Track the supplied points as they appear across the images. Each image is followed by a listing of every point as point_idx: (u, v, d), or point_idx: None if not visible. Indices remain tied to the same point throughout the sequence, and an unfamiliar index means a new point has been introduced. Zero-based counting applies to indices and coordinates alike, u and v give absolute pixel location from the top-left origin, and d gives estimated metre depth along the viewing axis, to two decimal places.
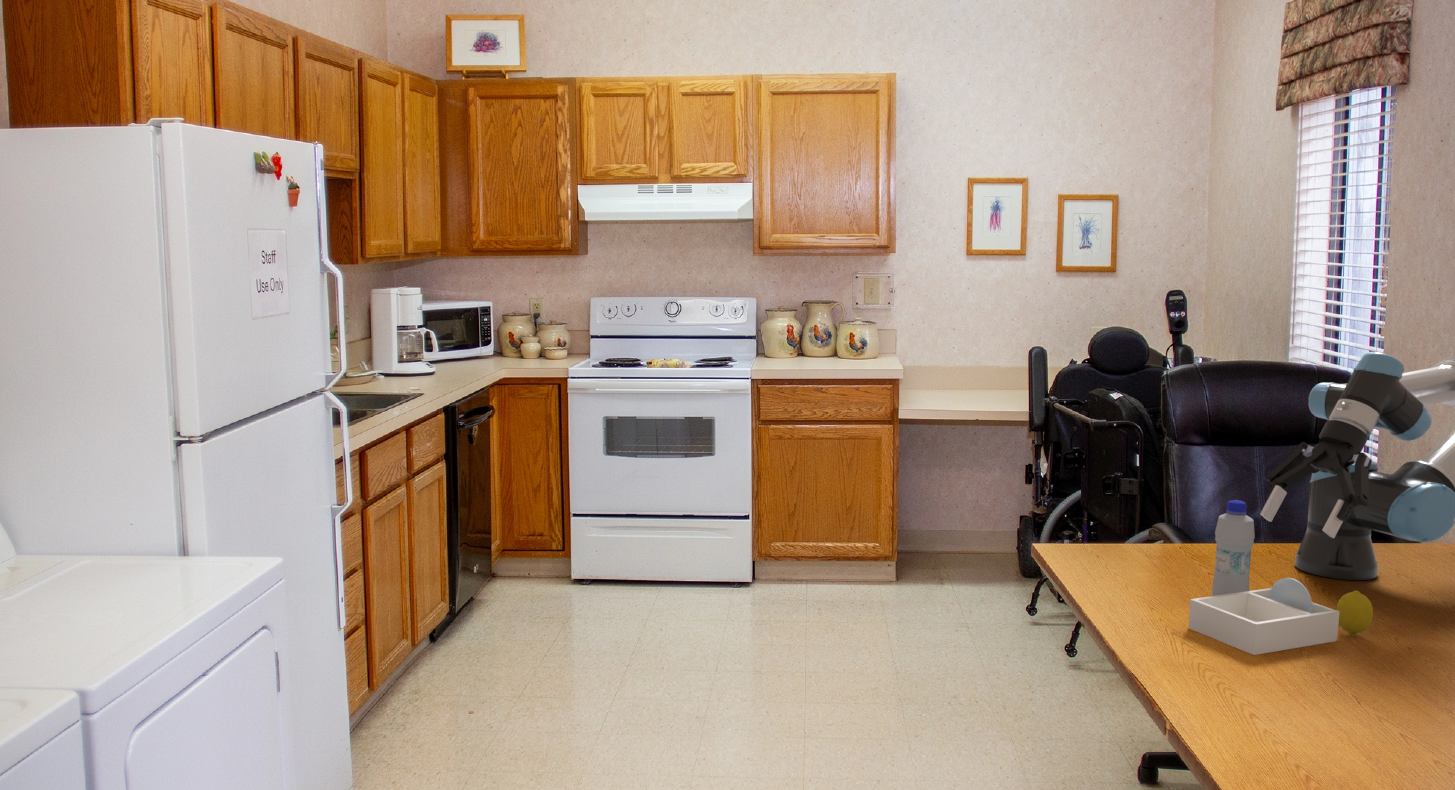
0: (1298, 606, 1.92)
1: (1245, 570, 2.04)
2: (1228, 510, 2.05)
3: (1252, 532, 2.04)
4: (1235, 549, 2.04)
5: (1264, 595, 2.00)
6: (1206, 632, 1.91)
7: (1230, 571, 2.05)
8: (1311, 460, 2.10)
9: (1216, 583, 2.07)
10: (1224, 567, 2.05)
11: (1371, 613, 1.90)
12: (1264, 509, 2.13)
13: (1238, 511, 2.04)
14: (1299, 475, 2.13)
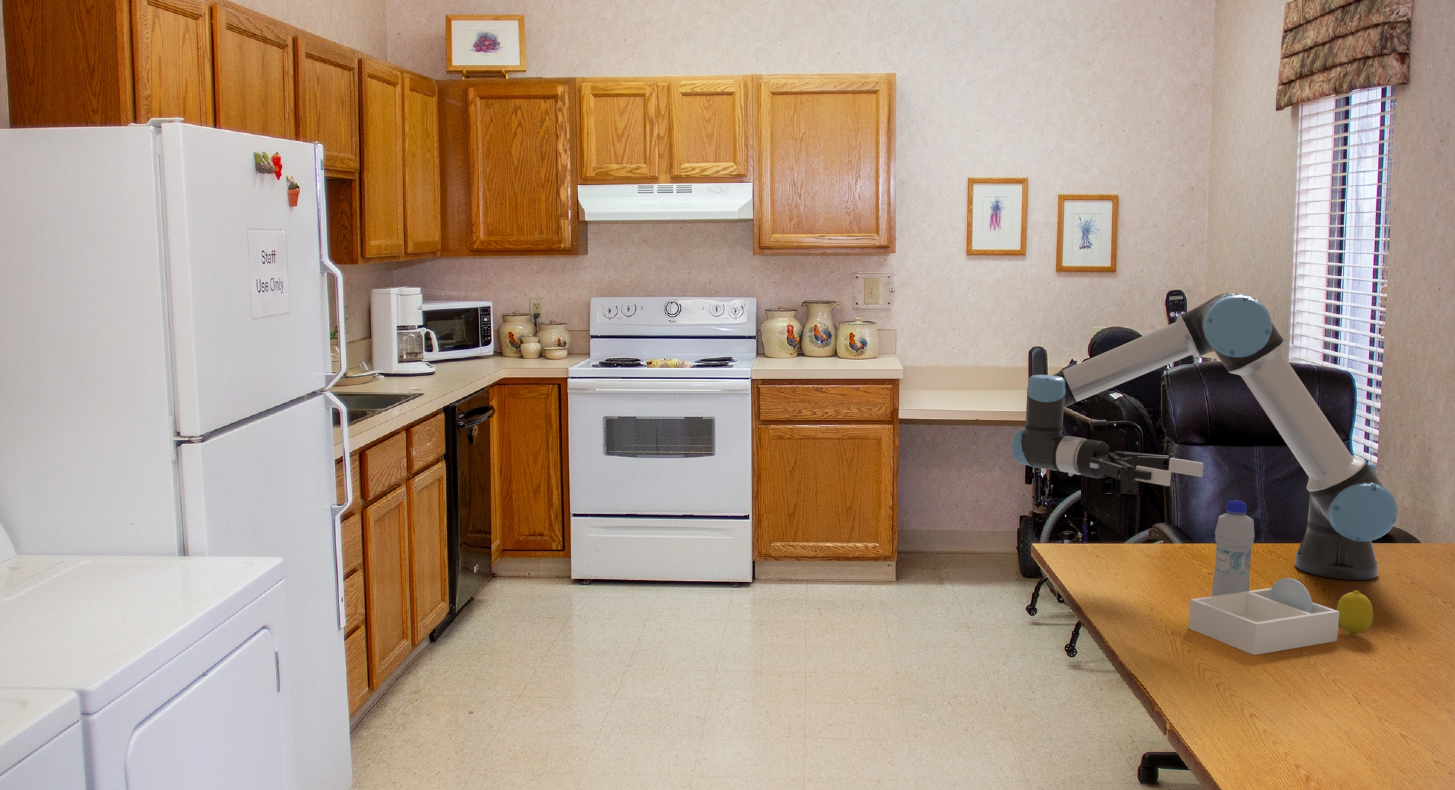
0: (1298, 606, 1.92)
1: (1245, 570, 2.04)
2: (1228, 510, 2.05)
3: (1252, 532, 2.04)
4: (1235, 549, 2.04)
5: (1264, 595, 2.00)
6: (1206, 632, 1.91)
7: (1230, 571, 2.05)
8: None
9: (1216, 583, 2.07)
10: (1224, 567, 2.05)
11: (1371, 613, 1.90)
12: (1196, 475, 2.18)
13: (1238, 511, 2.04)
14: (1148, 463, 2.22)
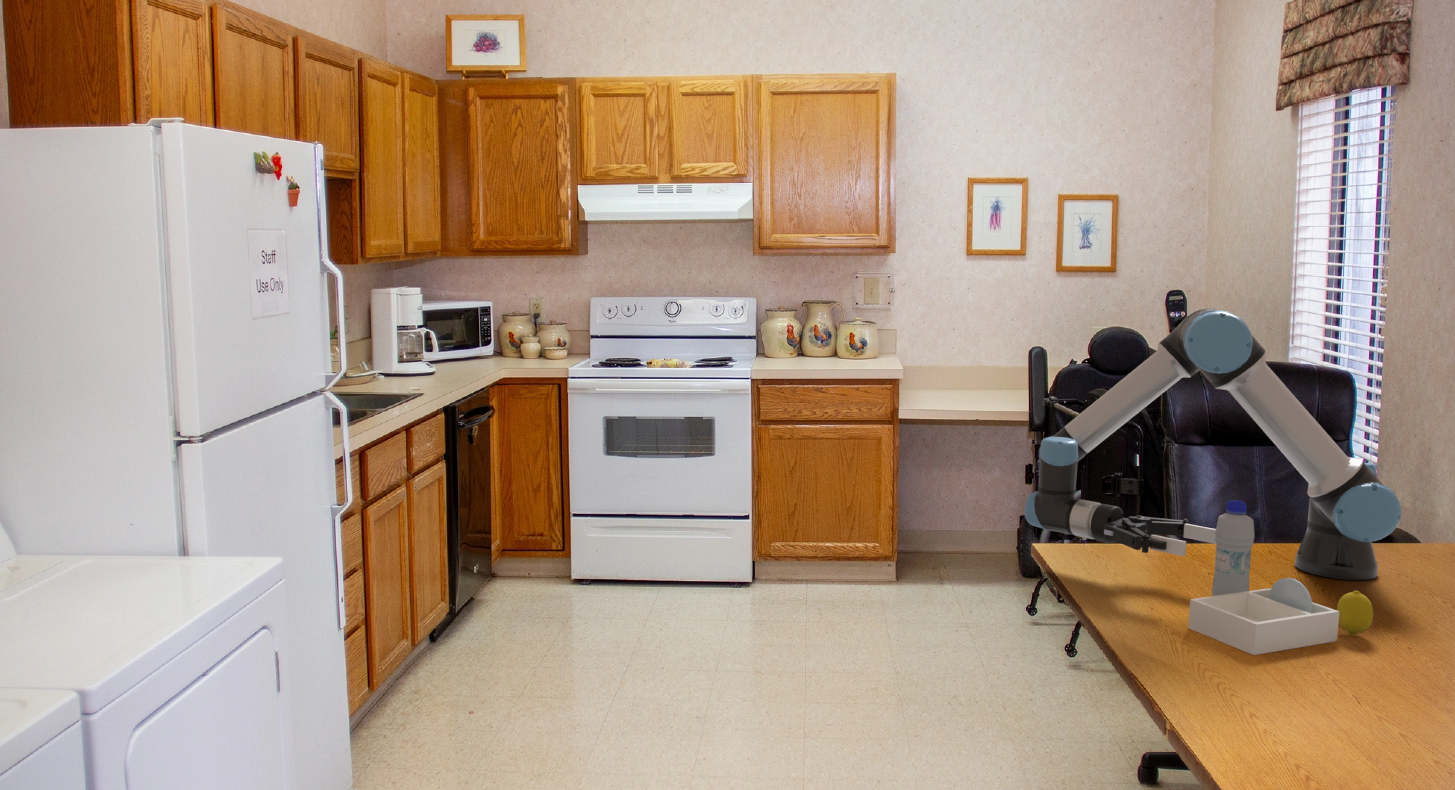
0: (1298, 606, 1.92)
1: (1245, 570, 2.04)
2: (1228, 510, 2.05)
3: (1252, 532, 2.04)
4: (1234, 549, 2.04)
5: (1264, 595, 2.00)
6: (1206, 632, 1.91)
7: (1230, 571, 2.05)
8: None
9: (1216, 583, 2.07)
10: (1224, 566, 2.05)
11: (1371, 613, 1.90)
12: None
13: (1238, 511, 2.04)
14: (1162, 528, 2.21)
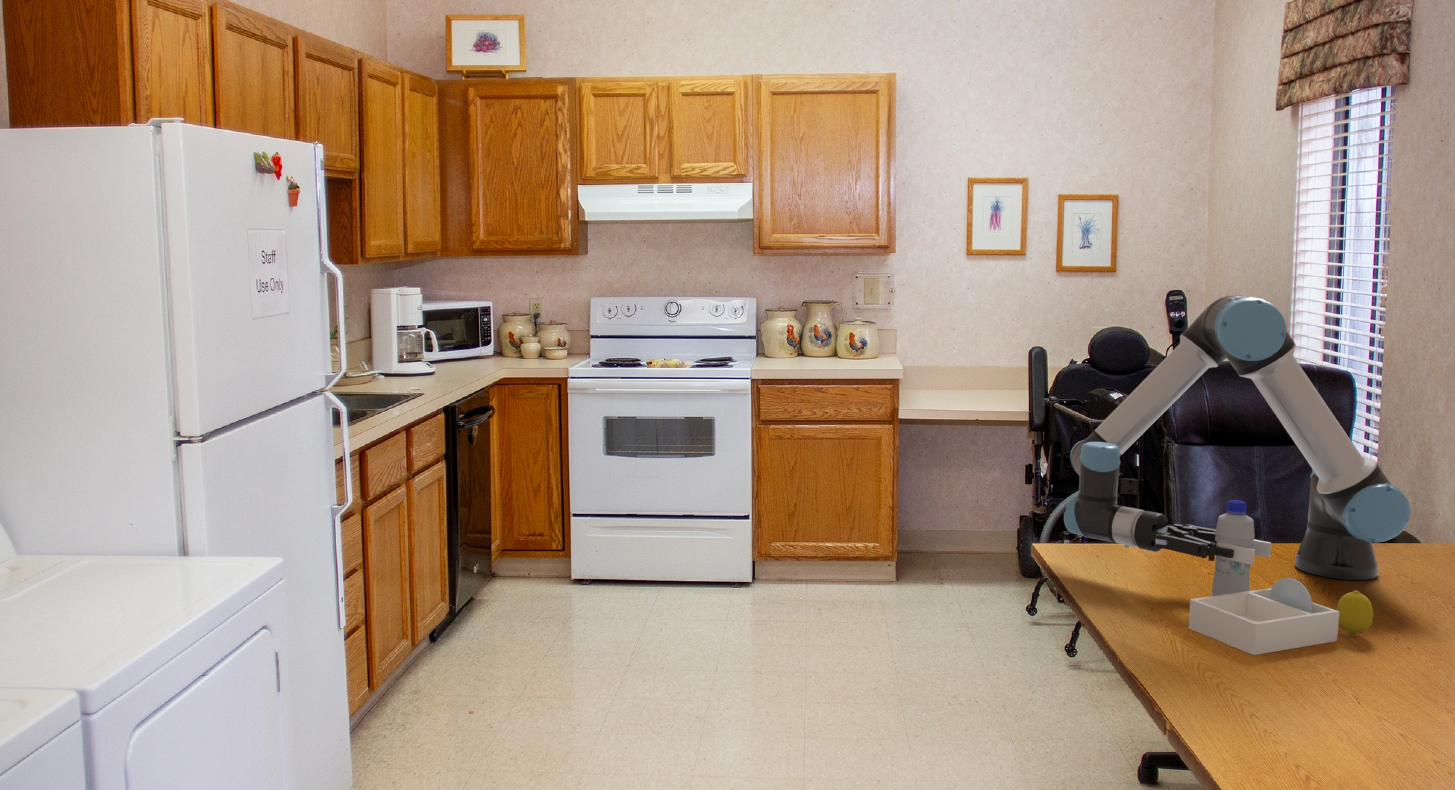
0: (1298, 606, 1.92)
1: (1245, 570, 2.04)
2: (1228, 510, 2.05)
3: (1252, 532, 2.04)
4: None
5: (1264, 595, 2.00)
6: (1206, 632, 1.91)
7: (1230, 571, 2.05)
8: None
9: (1216, 583, 2.07)
10: (1224, 566, 2.05)
11: (1371, 613, 1.90)
12: None
13: (1238, 511, 2.04)
14: (1208, 539, 2.13)
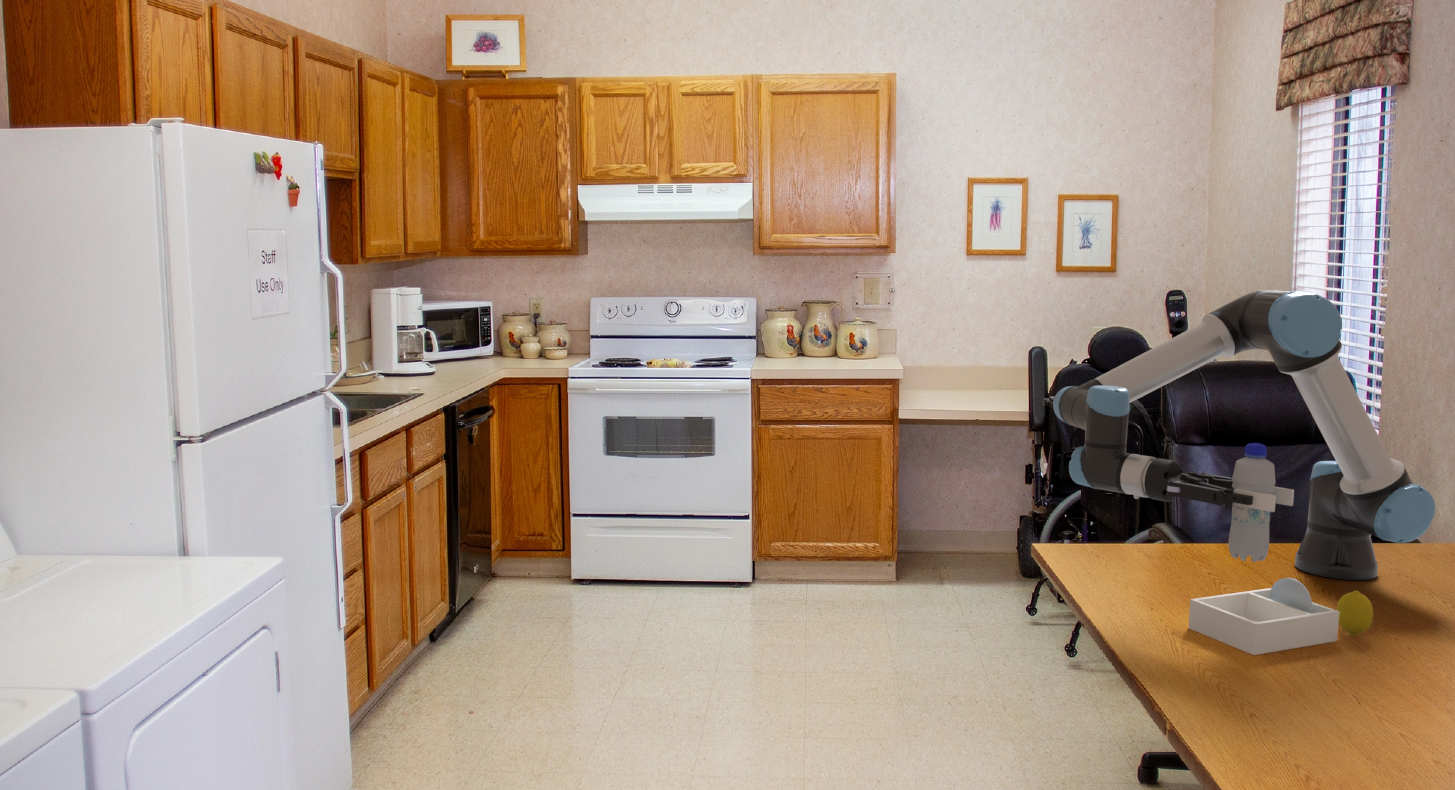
0: (1298, 606, 1.92)
1: (1265, 519, 1.88)
2: (1246, 454, 1.89)
3: (1273, 477, 1.87)
4: None
5: (1264, 595, 2.00)
6: (1206, 632, 1.91)
7: (1248, 520, 1.88)
8: None
9: (1233, 534, 1.90)
10: (1241, 515, 1.89)
11: (1371, 613, 1.90)
12: None
13: (1258, 454, 1.87)
14: (1225, 487, 1.96)
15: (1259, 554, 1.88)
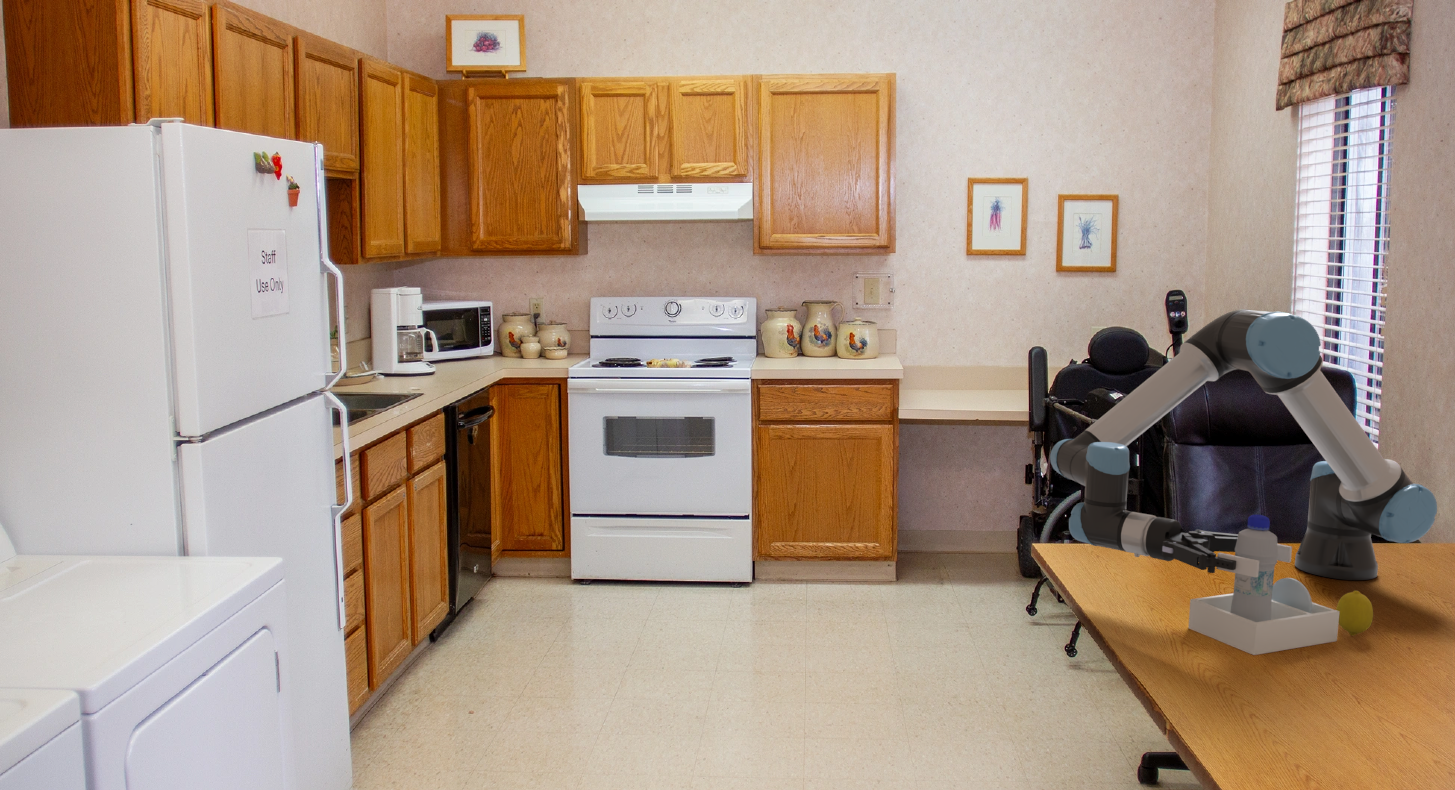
0: (1298, 606, 1.92)
1: (1267, 591, 1.88)
2: (1249, 525, 1.89)
3: (1276, 550, 1.87)
4: None
5: None
6: (1206, 632, 1.91)
7: (1251, 592, 1.88)
8: None
9: (1235, 605, 1.90)
10: (1244, 587, 1.88)
11: (1371, 613, 1.90)
12: None
13: (1261, 527, 1.87)
14: (1226, 545, 1.98)
15: None
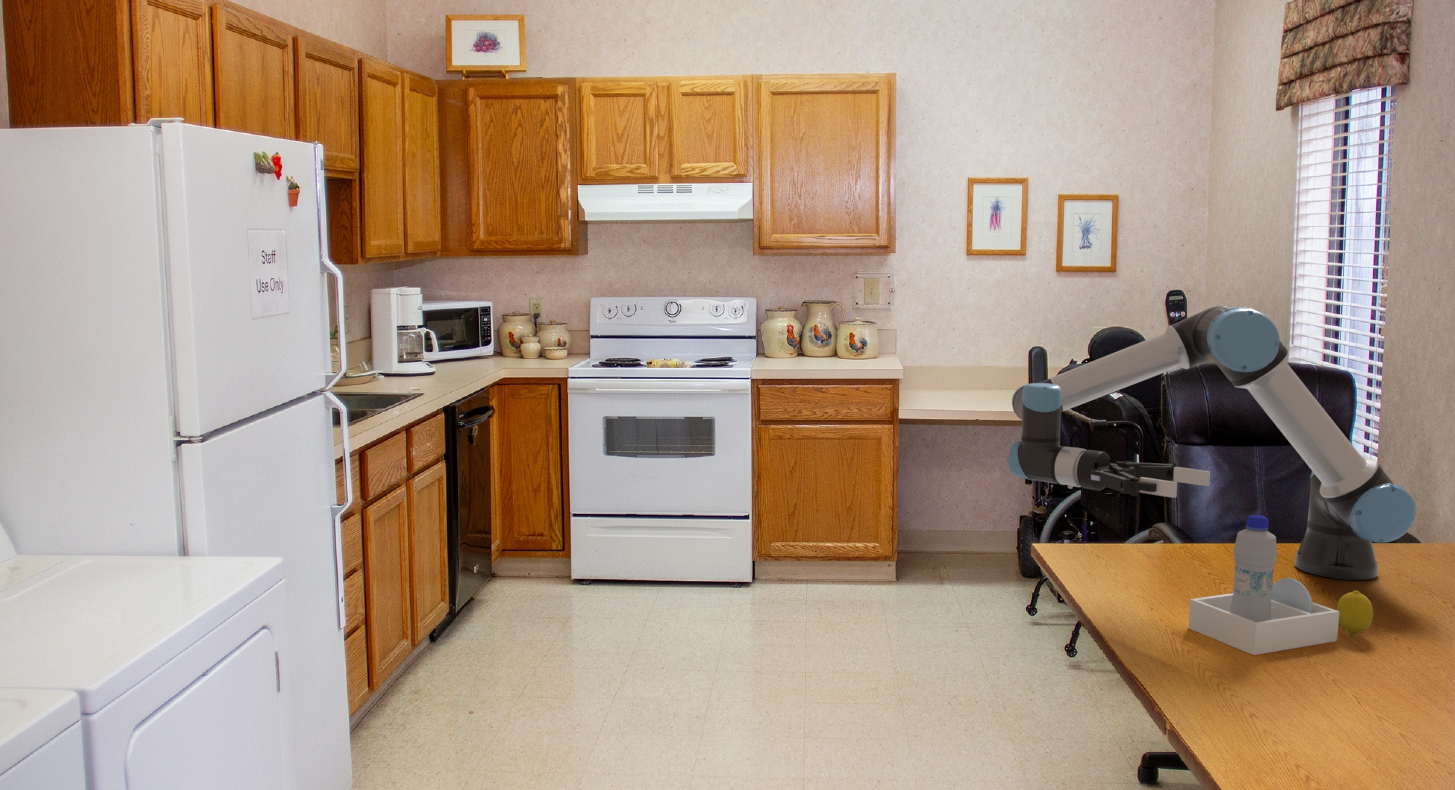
0: (1298, 606, 1.92)
1: (1267, 591, 1.87)
2: (1248, 526, 1.88)
3: (1275, 550, 1.87)
4: (1255, 569, 1.87)
5: None
6: (1206, 632, 1.91)
7: (1251, 593, 1.88)
8: None
9: (1235, 606, 1.90)
10: (1243, 587, 1.88)
11: (1371, 613, 1.90)
12: None
13: (1259, 527, 1.87)
14: (1151, 473, 2.12)
15: None
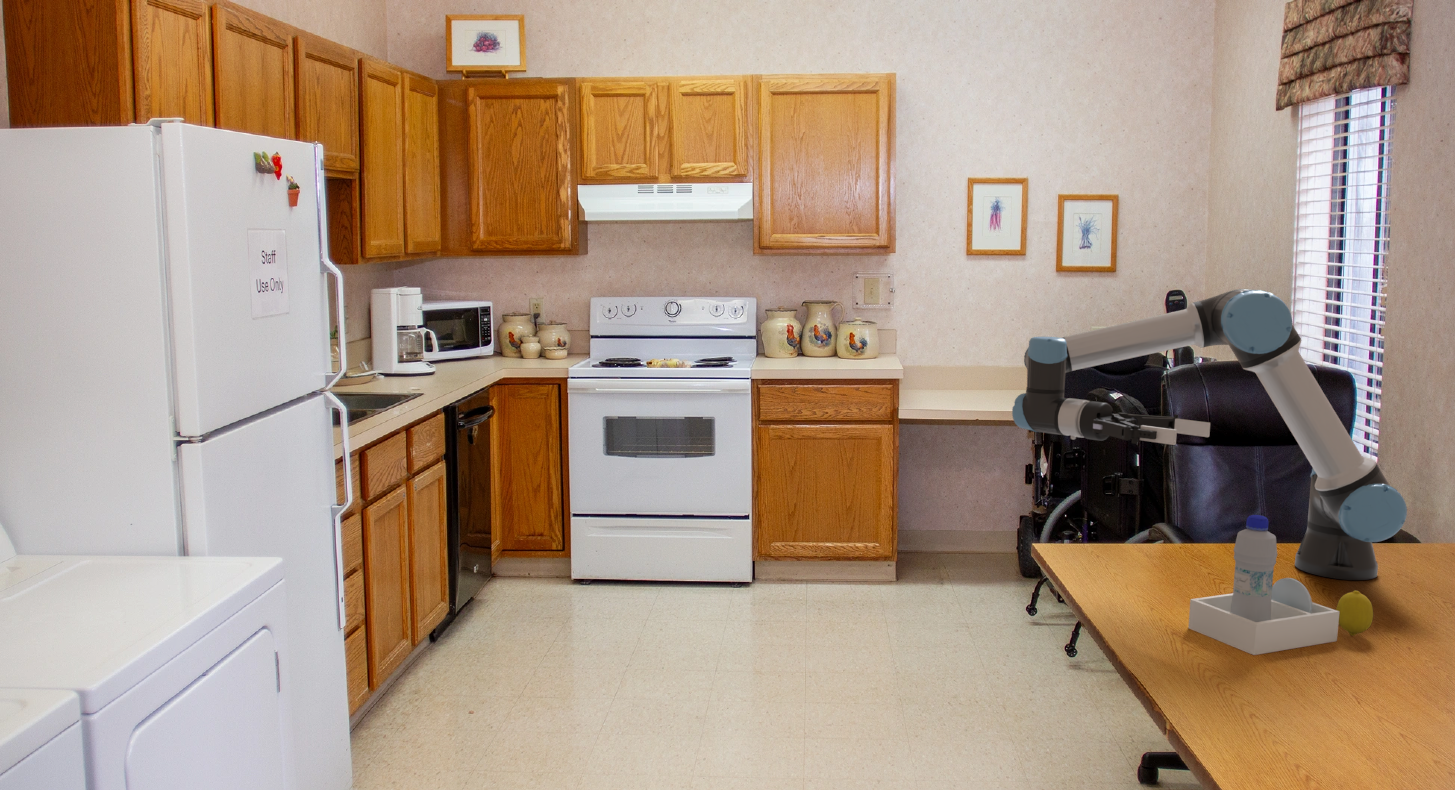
0: (1298, 606, 1.92)
1: (1267, 591, 1.88)
2: (1248, 526, 1.88)
3: (1275, 550, 1.87)
4: (1255, 569, 1.87)
5: None
6: (1206, 632, 1.91)
7: (1251, 593, 1.88)
8: None
9: (1235, 606, 1.90)
10: (1243, 587, 1.88)
11: (1371, 613, 1.90)
12: (1202, 436, 2.11)
13: (1259, 527, 1.87)
14: (1152, 424, 2.16)
15: None
